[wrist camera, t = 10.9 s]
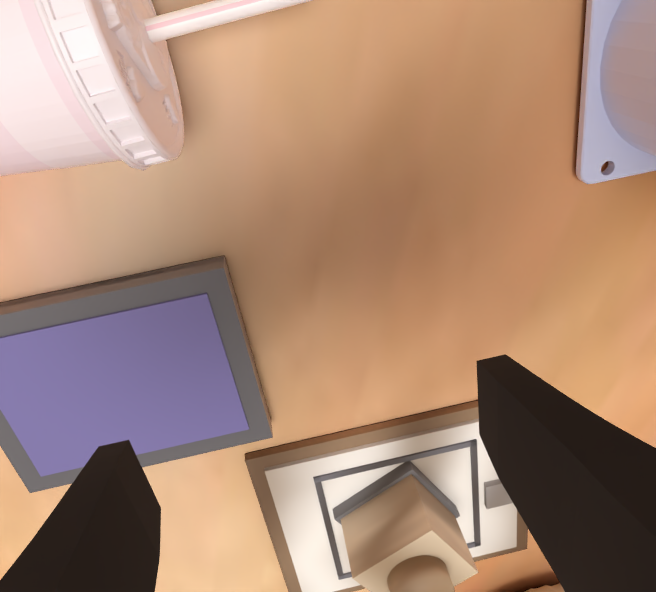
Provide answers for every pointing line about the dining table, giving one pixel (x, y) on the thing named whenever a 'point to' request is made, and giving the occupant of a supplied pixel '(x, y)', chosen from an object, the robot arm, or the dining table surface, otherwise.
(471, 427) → the clipboard
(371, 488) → the stamp
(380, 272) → the dining table surface
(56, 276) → the dining table surface
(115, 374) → the ink tray
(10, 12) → the smoothie
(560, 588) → the canister
